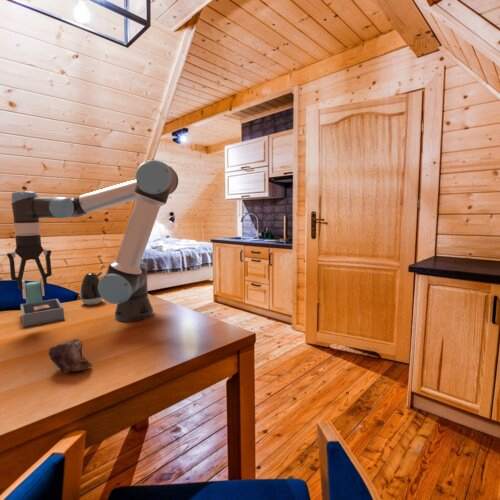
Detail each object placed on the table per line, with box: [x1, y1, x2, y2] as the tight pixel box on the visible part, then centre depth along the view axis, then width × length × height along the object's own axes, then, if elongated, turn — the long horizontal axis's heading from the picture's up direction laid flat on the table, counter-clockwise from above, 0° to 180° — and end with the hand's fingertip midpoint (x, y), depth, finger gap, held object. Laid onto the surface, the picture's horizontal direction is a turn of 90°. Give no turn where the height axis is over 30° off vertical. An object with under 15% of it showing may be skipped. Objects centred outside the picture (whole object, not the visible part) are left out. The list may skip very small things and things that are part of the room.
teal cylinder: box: [25, 281, 43, 304], centre depth 117 cm, size 5×5×7 cm
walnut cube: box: [33, 305, 50, 312], centre depth 128 cm, size 5×5×5 cm
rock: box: [48, 338, 93, 374], centre depth 88 cm, size 12×9×10 cm
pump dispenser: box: [79, 272, 104, 306], centre depth 150 cm, size 10×10×15 cm
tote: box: [19, 298, 65, 328], centre depth 131 cm, size 18×14×5 cm
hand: (33, 296), depth 117 cm, fingers closed on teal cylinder, 5 cm apart
